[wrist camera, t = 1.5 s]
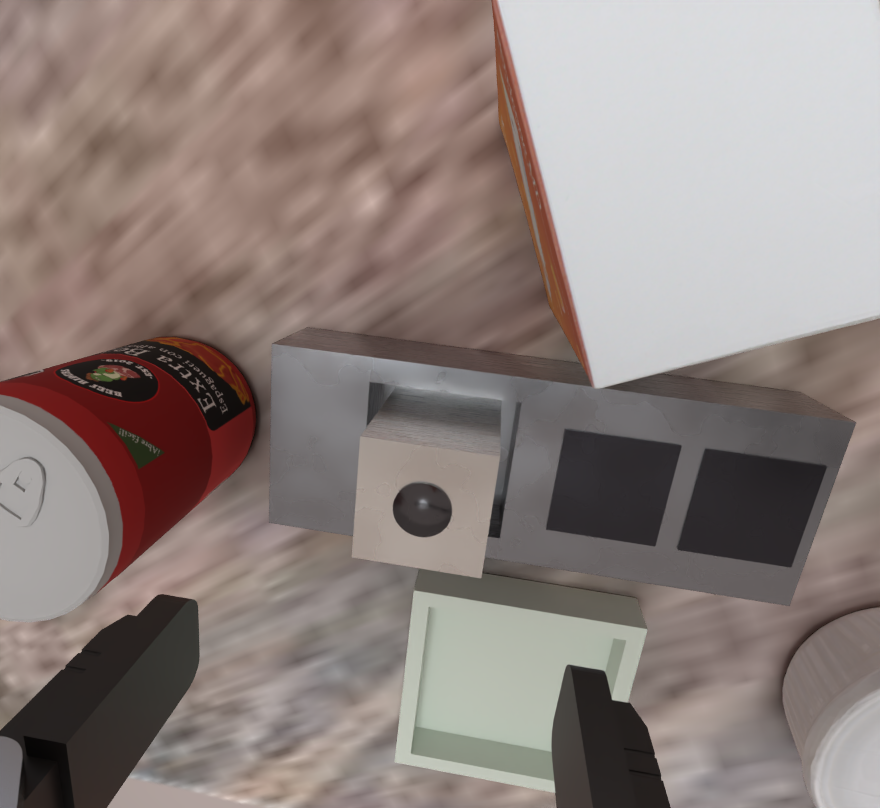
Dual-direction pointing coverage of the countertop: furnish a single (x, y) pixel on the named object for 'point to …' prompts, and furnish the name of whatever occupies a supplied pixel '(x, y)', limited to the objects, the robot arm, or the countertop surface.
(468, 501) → the cube with dark knob
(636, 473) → the grey compartment tray
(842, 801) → the ramekin
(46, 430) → the canned food
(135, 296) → the countertop surface
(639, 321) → the small box
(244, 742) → the countertop surface
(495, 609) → the parts tray
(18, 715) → the robot arm
